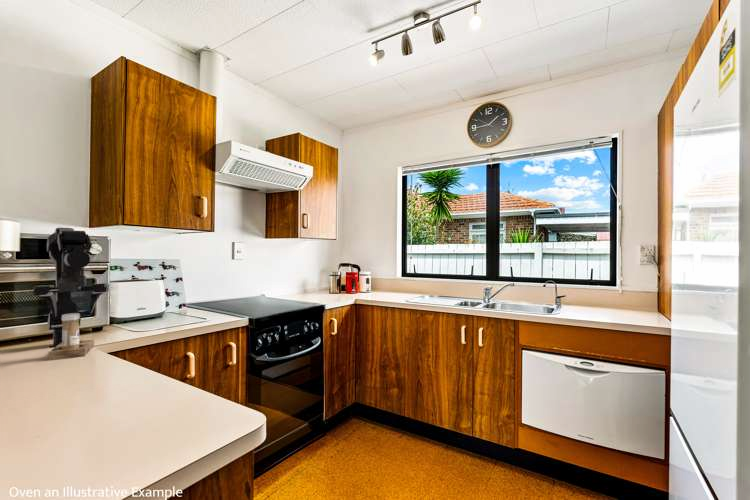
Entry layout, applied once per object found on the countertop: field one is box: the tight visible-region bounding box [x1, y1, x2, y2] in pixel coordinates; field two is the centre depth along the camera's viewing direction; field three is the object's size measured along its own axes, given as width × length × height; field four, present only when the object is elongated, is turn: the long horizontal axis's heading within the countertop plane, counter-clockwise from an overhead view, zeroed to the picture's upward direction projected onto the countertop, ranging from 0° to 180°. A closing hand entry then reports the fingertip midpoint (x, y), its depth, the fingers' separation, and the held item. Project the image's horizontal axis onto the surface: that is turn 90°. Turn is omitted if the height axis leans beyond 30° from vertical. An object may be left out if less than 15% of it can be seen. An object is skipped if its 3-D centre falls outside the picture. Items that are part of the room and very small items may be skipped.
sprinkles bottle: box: [62, 313, 81, 350], centre depth 119 cm, size 5×5×13 cm
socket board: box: [48, 338, 95, 361], centre depth 122 cm, size 9×16×2 cm, turn 29°
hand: (73, 315), depth 120 cm, fingers open, 9 cm apart
